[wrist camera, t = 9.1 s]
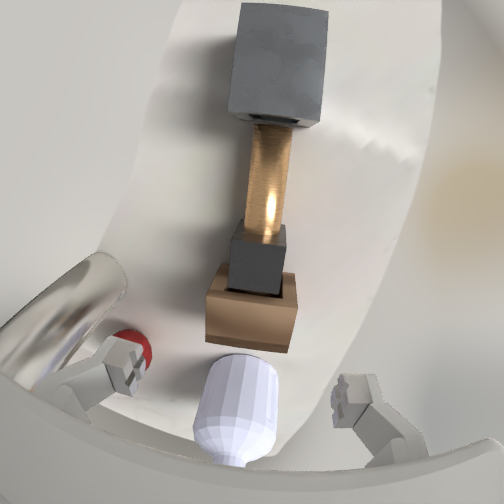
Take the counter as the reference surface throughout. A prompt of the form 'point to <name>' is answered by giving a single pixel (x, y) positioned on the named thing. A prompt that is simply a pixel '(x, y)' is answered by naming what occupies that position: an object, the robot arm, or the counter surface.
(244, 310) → the socket
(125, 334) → the onion
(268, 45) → the matte grey rectangular block
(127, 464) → the robot arm
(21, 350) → the silver metal cylinder
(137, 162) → the counter surface
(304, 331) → the counter surface
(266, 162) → the hammer
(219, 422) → the soap bottle
